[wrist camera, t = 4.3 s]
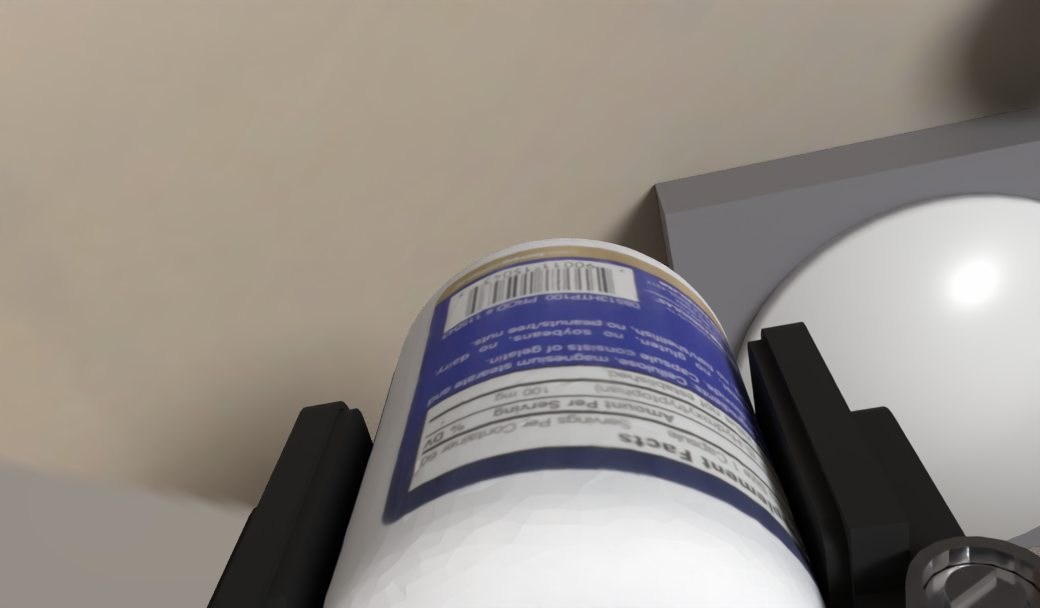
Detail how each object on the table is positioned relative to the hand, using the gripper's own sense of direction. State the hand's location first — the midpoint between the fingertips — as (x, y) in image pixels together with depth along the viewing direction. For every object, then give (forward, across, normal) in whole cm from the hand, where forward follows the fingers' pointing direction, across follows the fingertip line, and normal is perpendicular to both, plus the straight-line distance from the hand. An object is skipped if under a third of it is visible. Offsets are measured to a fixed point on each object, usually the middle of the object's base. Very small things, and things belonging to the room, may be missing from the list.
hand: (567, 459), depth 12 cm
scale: (+15, -10, +9) cm, 20 cm away
